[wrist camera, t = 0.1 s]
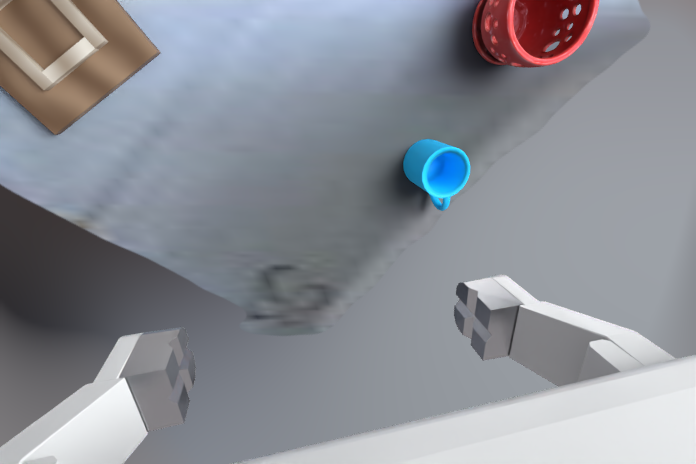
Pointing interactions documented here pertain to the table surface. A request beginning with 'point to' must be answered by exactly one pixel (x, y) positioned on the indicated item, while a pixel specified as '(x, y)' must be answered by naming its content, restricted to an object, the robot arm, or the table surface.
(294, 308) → the table surface
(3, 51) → the socket board
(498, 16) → the plant pot
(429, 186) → the mug
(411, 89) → the table surface
